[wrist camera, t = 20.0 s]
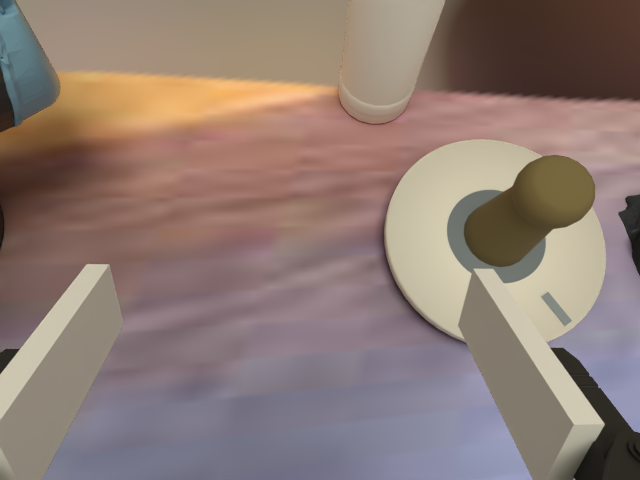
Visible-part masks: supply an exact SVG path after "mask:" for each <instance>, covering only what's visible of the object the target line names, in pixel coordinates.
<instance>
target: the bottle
mask: <svg viewBox="0 0 640 480" xmlns="http://www.w3.org/2000/svg"><path fill="white" fill-rule="evenodd" d="M444 3H445V0H349V5H348V13H347V23H346V31H345V40H344V49H343V58H342V65H341V69H340V77H339V94H338V95H339V98H340V101H341V105H342V106H343V107H344V109H345V110H346V111H347V113H348V114H350V115H351V116H353V117H354V118H356V119H357V120H359V121H363V122H366V123H370V124H381V123H386V122H389V121H392V120H394V119H396V118H397V117H398V116H399V115H401V114H402V113H403V112H404V110H405V108H406V106H407V104H408V102H409V100H410V98H411V96H412V94H413V91H414V89H415V83H416V80H417V77H418V75H419V72H420V69H421V66H422V63H423V60H424V58H425V55H426V52H427V49H428V47H429V44H430V41H431V38H432V36H433V33H434V30H435V27H436V25H437V22H438V19H439V16H440V14H441V11H442V8H443V5H444Z"/></svg>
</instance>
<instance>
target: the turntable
mask: <svg viewBox="0 0 640 480" xmlns="http://www.w3.org/2000/svg"><path fill="white" fill-rule="evenodd" d="M540 157H543V156H541V155H539V154H537V153H535V152H533V151H531V150H529V149H526V148H524V147H521V146H518V145H515V144H511V143H507V142H503V141H496V140H481V139H476V140H465V141H460V142H455V143H451V144H448V145H446V146H443V147H440V148H438V149H436V150H434V151H432V152H430V153H428V154H427V155H425V156H424V157H423V158H421V159H420V160H418V161H417V162H416V163H415V164H414V165H413V166H412V167H411V168H410V169H409V170H408V171H407V173H406V174H405V175H404V176H403V178H402V179H401V181H400V183H399V184H398V186H397V188H396V190H395V192H394V194H393V196H392V199H391V201H390V203H389V206H388V210H387V214H386V218H385V226H384V245H385V251H386V257H387V260H388V264H389V267H390V270H391V273H392V275H393V277H394V279H395V281H396V283H397V285H398V287H399V288H400V290H401V292H402V293H403V295H404V296H405V298H406V299H407V300H408V301H409V303H410V304H411V305H412V306H413V308H414V309H415V310H416V311H417V312H418V313H419V314H420V315H421V316H422V317H424V318H425V319H426V320H427V321H428V322H430V323H431V324H432V325H434V326H435V327H436V328H438V329H439V330H441V331H443V332H444V333H446V334H448V335H450V336H451V337H454V338H456V339H458V340H461V341H463V342H466V341H465V339H464V337H463V335H462V333H461V331H460V329H459V327H458V323H459V319H460V316H461V312H462V308H463V304H464V301H465V297H466V293H467V289H468V286H469V282H470V278H471V274H472V271H473V269H494V271H495V272H496V273H497V275H498V276H499V278H500V279H501V280H502V282H503V283H504V285H505V286H506V287H507V289H508V290H509V292H510V293H511V294H512V296H513V297H514V299H515V300H516V301H517V303H518V304H519V305H520V307H521V308H522V310H523V311H524V312H525V314H526V315H527V317H528V318H529V319H530V321H531V322H532V324H533V325H534V326H535V328H536V329H537V331H538V332H539V333H540V335H541V336H542V337H543V339H544V340H545V342H548V341H551V340H553V339H555V338H557V337H560V336H561V335H563V334H564V333H566V332H568V331H569V330H571V329H572V328H573V327H574V326H576V325H577V324H578V323H579V322H580V321H581V320H582V319H583V318H584V317H585V315H586V314H587V313H588V312H589V311H590V309H591V308H592V306H593V304H594V303H595V301H596V299H597V297H598V295H599V292H600V290H601V287H602V284H603V279H604V275H605V267H606V250H605V242H604V237H603V232H602V229H601V226H600V223H599V220H598V217H597V215H596V213H595V211H594V209H593V207H591V209H590V210H589V211H588V213H587V214H586V215H585V216H584V217H583V218H582V219H581V220H580V221H578V222H576V223H574V224H572V225H570V226H568V227H564V228H558V229H553V230H552V231H551V232H550V233H549V234H548V235H547V236H546V237H545V238H543V239H542V240H541V241H540V242H539V243H538V244H537V245H536V246H535V247H534V248H533V249H532V250H531V251H530V252H529V253H528V254H527V255H526V256H525V257H524V258H523V259H522V260H520V261H519V262H518V263H516V264H513V265H511V266H506V267H496V266H491V265H488V264H486V263H484V262H482V261H480V260H479V259H478V258H477V257H476V256H475V255H473V254H472V253H471V251H470V249H469V248H468V246H467V244H466V241H465V237H464V224H465V222H466V220H467V218H468V216H469V215H470V214H471V213H472V212H473V211H474V210H475V209H476V208H478V207H480V206H481V205H483V204H484V203H486V202H488V201H489V200H491V199H493V198H494V197H496V196H497V195H499V194H501V193H502V192H504V191H506V190H507V189H509V188H510V187H512V186H513V184H514V182H515V179H516V177H517V175H518V173H519V172H520V171H521V170H522V169H523V168H524V167H525V166H526V165H527V164H528V163H530V162H532V161H534V160H536V159H538V158H540Z"/></svg>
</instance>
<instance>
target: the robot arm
mask: <svg viewBox="0 0 640 480" xmlns="http://www.w3.org/2000/svg"><path fill="white" fill-rule="evenodd" d="M59 93H60V82H59V78H58V76H57V74H56V72H55V70H54V68H53V67H52V65H51V63H50V61H49V59H48V57H47V56H46V54H45V52H44V51H43V48H42V47H41V45H40V43H39V41H38V39H37V38H36V36H35V34H34V32H33V31H32V29H31V27H30V25H29V23H28V22H27V20H26V18H25V16H24V15H23V13H22V11H21V10H20V8H19V6H18V4H17V2H16V1H15V0H0V132H2V131H4V130H7V129H9V128H11V127H15V126H18V125H20V124H21V123H22V121H23V120H25V119H26V118H28V117H30V116H32V115H34V114H36V113H37V112H39V111H41V110H43V109H45V108H47V107H48V106H50V105H52V104H53V103H54V102H55V101H56V99H57V97H58V96H59ZM2 236H3V214H2V210H1V207H0V245H1V241H2ZM123 325H124V324H123V319H122V315H121V311H120V307H119V303H118V299H117V294H116V290H115V286H114V282H113V278H112V273H111V269H110V265H109V264H87V265H86V266H85V267H84V268H83V270H82V271H81V272H80V274H79V275H78V276H77V277H76V279H75V280H74V281H73V282H72V284H71V285H70V286H69V288H68V289H67V290H66V291H65V293H64V294H63V295H62V296H61V298H60V299H59V300H58V302H57V303H56V304H55V305H54V307H53V308H52V309H51V310H50V312H49V313H48V314H47V316H46V317H45V318H44V319H43V321H42V322H41V323H40V325H39V326H38V327H37V328H36V330H35V331H34V332H33V333H32V335H31V336H30V337H29V339H28V340H27V341H26V342H25V344H24V345H23V346H22V347H21V349H5V350H4V351H3V352H1V353H0V480H42V479H43V477H44V475H45V473H46V471H47V469H48V467H49V465H50V463H51V462H52V460H53V458H54V456H55V454H56V452H57V450H58V448H59V446H60V444H61V443H62V441H63V439H64V437H65V435H66V433H67V431H68V429H69V427H70V426H71V424H72V422H73V420H74V418H75V416H76V414H77V412H78V410H79V408H80V407H81V405H82V403H83V401H84V399H85V397H86V395H87V393H88V391H89V390H90V388H91V386H92V384H93V382H94V380H95V378H96V376H97V374H98V372H99V371H100V369H101V367H102V365H103V363H104V361H105V359H106V357H107V355H108V354H109V352H110V350H111V348H112V346H113V344H114V342H115V340H116V338H117V336H118V335H119V333H120V331H121V329H122V327H123ZM458 327H459V329H460V331H461V333H462V335H463V337H464V339H465V341H466V343H467V345H468V347H469V349H470V352H471V354H472V356H473V358H474V360H475V362H476V364H477V366H478V368H479V370H480V372H481V374H482V376H483V378H484V380H485V382H486V384H487V386H488V388H489V390H490V393H491V395H492V397H493V399H494V401H495V403H496V405H497V407H498V409H499V411H500V413H501V415H502V417H503V419H504V421H505V423H506V425H507V427H508V429H509V431H510V434H511V436H512V438H513V440H514V442H515V444H516V446H517V448H518V450H519V452H520V454H521V456H522V458H523V460H524V462H525V464H526V466H527V468H528V470H529V472H530V475H531V477H532V479H533V480H573V479H574V478H575V480H640V433H638V432H634V431H633V430H632V429H631V427H630V426H629V425H628V423H627V422H626V421H625V420H624V418H623V417H622V416H621V414H620V413H619V412H618V410H617V409H616V408H615V407H614V405H613V404H612V403H611V401H610V400H609V399H608V398H607V396H606V395H605V394H604V392H603V391H602V390H601V388H598V385H597V383H596V382H595V381H594V379H593V378H592V377H590V376H589V373H588V372H587V370H586V369H585V368H584V367H583V365H582V364H581V363H580V361H579V360H578V359H576V358H575V357H574V356H573V355H571V354H570V353H569V352H567V351H566V350H565V349H564V348H550V347H549V346H548V344H547V343H546V342H545V340H544V339H543V337H542V336H541V335H540V333H539V332H538V331H537V329H536V328H535V326H534V325H533V324H532V322H531V321H530V319H529V318H528V317H527V315H526V314H525V312H524V311H523V310H522V308H521V307H520V305H519V304H518V303H517V301H516V300H515V299H514V297H513V296H512V294H511V293H510V292H509V290H508V289H507V287H506V286H505V285H504V283H503V282H502V280H501V279H500V278H499V276H498V275H497V273H496V272H495V271H494V269H473V271H472V274H471V278H470V282H469V286H468V289H467V293H466V297H465V301H464V304H463V308H462V312H461V316H460V319H459V323H458Z"/></svg>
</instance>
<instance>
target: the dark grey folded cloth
mask: <svg viewBox="0 0 640 480" xmlns="http://www.w3.org/2000/svg"><path fill="white" fill-rule="evenodd" d="M626 203H627V204H628V205H629V206H628V207H627V208H626V210H624V211H622V212H619V216H620V218H621V220H622V222H623V224H624V226H625V229H626V231H627V234H628V236H629V238H630V241H631V243H632V249H633V253H632V255H633V256H632V257H633V260H634V263H635V265H636V268H637V271H638V273H639V275H640V195H635V196H628V197H627V200H626Z"/></svg>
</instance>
